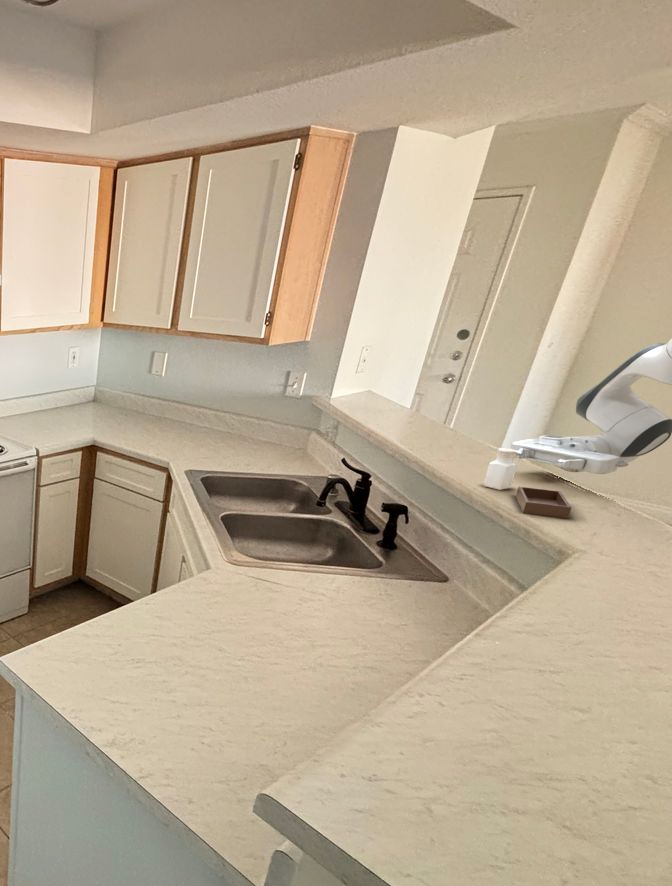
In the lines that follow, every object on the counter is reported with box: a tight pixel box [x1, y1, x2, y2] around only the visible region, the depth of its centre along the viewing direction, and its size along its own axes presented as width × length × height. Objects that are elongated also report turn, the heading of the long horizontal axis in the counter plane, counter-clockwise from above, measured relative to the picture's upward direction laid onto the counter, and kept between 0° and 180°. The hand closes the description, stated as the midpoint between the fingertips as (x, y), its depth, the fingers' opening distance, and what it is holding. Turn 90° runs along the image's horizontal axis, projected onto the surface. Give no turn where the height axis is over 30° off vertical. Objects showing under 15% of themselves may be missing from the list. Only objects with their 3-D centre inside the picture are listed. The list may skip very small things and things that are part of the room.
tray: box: [515, 486, 572, 519], centre depth 130 cm, size 13×7×2 cm, turn 143°
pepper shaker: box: [483, 447, 518, 491], centre depth 142 cm, size 4×4×10 cm
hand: (537, 459), depth 144 cm, fingers open, 8 cm apart
